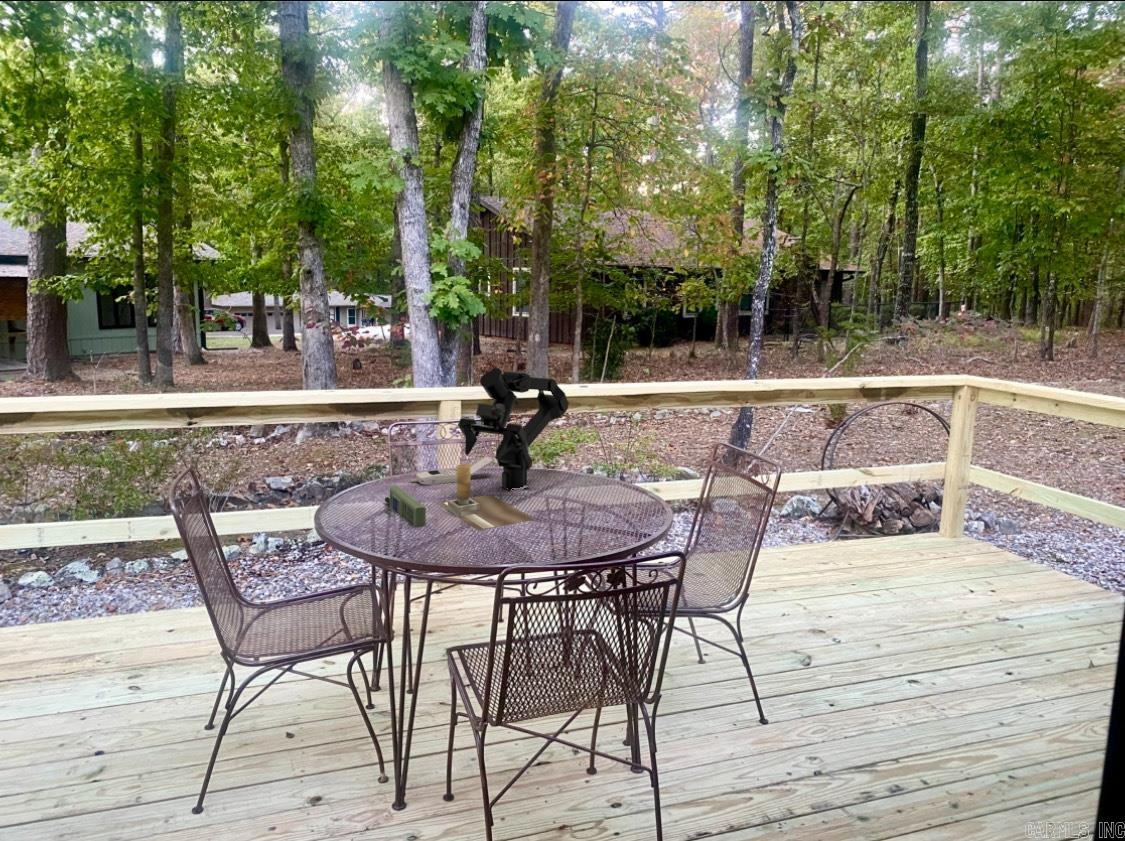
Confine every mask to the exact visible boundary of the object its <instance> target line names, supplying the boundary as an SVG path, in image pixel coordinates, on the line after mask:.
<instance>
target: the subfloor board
mask: <svg viewBox="0 0 1125 841" xmlns="http://www.w3.org/2000/svg"><path fill="white" fill-rule="evenodd" d="M438 505H439V506H440V507H441V508H443V509H445V510H446V511H448V512H450V513H451V514H453V515H454V516H456V518H458V519H460V520H462V521H463V522H464V523H466V524H467V525H469V526H470V527H472V528H473V529H474V530H477V531H478V532H479V531H485V530H489V529H495V528H499V527H505V526H509V525H514V524H515V525H516V524H520V523H525V522H530V521H535V520H536V518H533V517H532V516H530V515H528V514H527V513H526V512H523V511H522V510H520V509H518V508H516V507H515V506H512V505H511V504H509V503H507V502H505V501H503V500H502V499H500V498H498V497H497V496H495V495H493V494H489V495H481V496H477V497H476V496H475V497H469V505H463V506H458V498H457V499H452V500H447V501H446V502H442V503H441V502H439V503H438Z"/></svg>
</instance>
